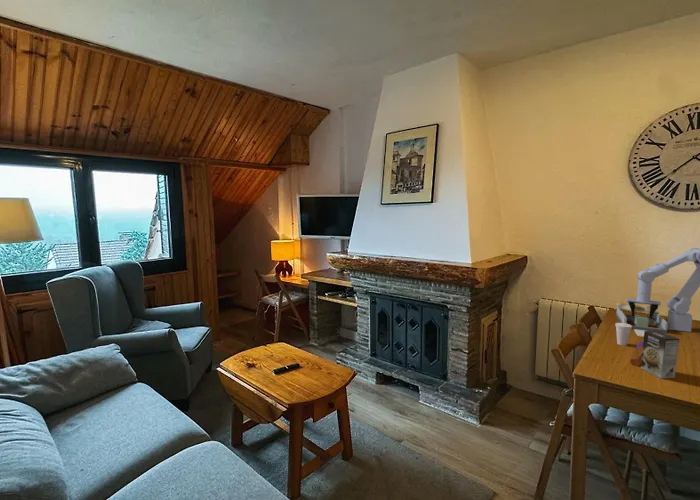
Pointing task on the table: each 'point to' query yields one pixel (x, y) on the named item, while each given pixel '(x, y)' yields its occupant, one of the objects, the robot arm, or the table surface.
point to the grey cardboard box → (659, 354)
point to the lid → (637, 308)
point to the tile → (639, 332)
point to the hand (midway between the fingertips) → (641, 316)
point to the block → (641, 321)
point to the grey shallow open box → (655, 319)
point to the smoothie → (623, 332)
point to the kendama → (637, 358)
